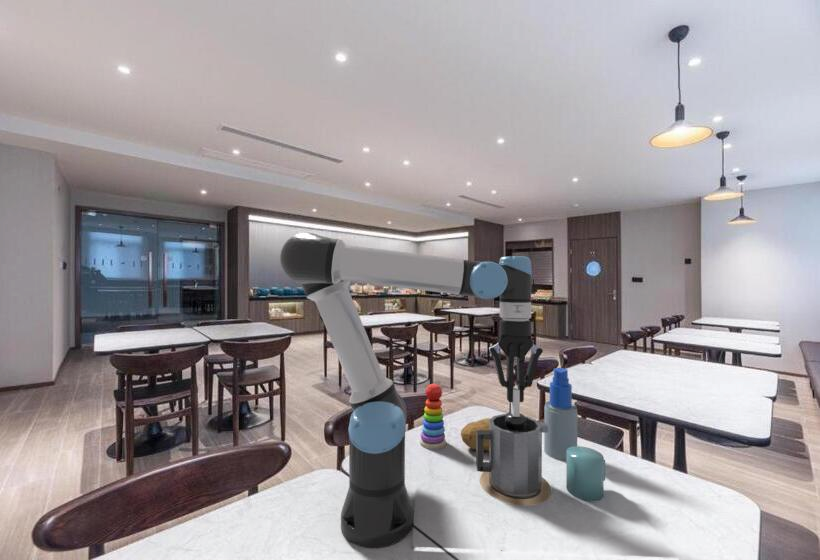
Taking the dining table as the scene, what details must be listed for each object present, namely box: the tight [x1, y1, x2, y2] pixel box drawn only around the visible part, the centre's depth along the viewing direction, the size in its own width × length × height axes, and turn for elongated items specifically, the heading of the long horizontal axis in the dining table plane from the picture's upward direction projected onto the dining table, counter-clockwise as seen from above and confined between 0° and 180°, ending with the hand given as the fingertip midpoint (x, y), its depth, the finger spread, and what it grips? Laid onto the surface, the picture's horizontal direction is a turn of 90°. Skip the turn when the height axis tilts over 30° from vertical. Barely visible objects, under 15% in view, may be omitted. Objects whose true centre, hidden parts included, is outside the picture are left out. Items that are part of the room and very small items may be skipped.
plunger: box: [505, 411, 525, 432], centre depth 90 cm, size 9×9×12 cm
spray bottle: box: [543, 367, 578, 462], centre depth 106 cm, size 9×9×25 cm
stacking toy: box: [419, 383, 447, 450], centre depth 112 cm, size 8×8×19 cm
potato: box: [460, 417, 492, 452], centre depth 109 cm, size 9×16×9 cm, turn 88°
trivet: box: [479, 472, 553, 507], centre depth 90 cm, size 17×17×1 cm
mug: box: [565, 445, 606, 502], centre depth 87 cm, size 10×8×10 cm
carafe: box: [475, 413, 548, 499], centre depth 90 cm, size 17×12×15 cm
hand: (515, 414), depth 90 cm, fingers closed
